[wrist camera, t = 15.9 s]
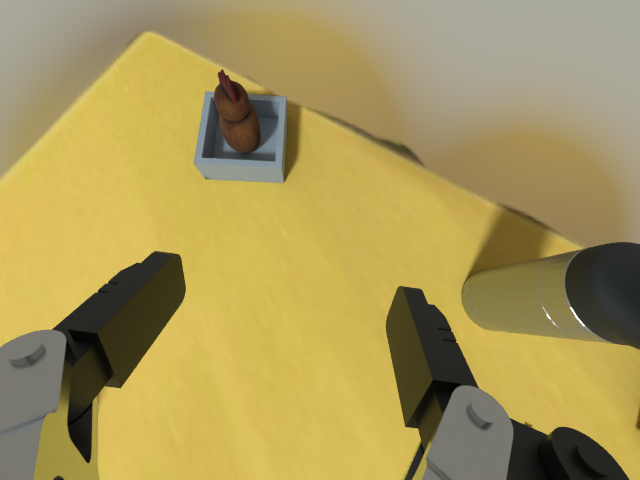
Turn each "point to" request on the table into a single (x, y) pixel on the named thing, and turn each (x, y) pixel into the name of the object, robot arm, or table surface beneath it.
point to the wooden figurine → (236, 115)
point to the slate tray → (231, 165)
